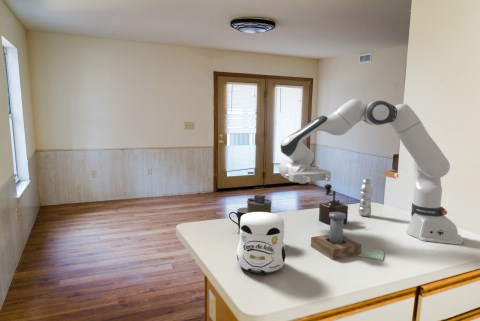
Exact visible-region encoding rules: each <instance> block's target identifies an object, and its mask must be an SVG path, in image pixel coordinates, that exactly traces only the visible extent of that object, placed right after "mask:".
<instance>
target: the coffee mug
mask: <svg viewBox="0 0 480 321" xmlns="http://www.w3.org/2000/svg"><path fill="white" fill-rule="evenodd" d="M232 214H235V215H236V217H237V221H235V220H234V219H232V217H231V215H232ZM244 214H247V207H238V208H237V209H236V211H231V212H230V213H228V218H229V219H230V221H232V222H233V223H234V224H236V225H237V227H238V232H239V233H240V220H241V216H242V215H244Z"/></svg>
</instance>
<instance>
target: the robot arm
mask: <svg viewBox="0 0 480 321" xmlns="http://www.w3.org/2000/svg"><path fill="white" fill-rule="evenodd" d="M361 121H363V122H365V123H367V124H369V125H371V126H382V125H386V124H389V125H390V126H391V127H393V129H394V132H395V133H396V135H397V136H398V138H399V140H400V141H401V143H402V145H403V146H404V148H405V149H406V150H407V152H408V153H409V155H410V157H412V159H413V164H414V165H413V167H414V168H413V175H414V176H413V177H414V178H413V179H414V180H413V181H414V188H413V189H414V190H413V191H414V192H413V200H412V204H411V209H410V221H409V225H408V227H407V229H406V233H407V234H408V235H410V236H411V237H415V238H417V239H419V240H421V241H423V242H432V243H440V244H448V245H449V244H450V245H451V244H452V245H462V244H464V238H463V237H462V235H460V234H459V232H458V227H457V225H456V224H455V223H454V222H453V221H452V220H451V219H449V218H448V217H447V216H446V215H447V214H448V211H447V210H446V209H445V208H444V206H441V204H442V203H441V202H442V196H443V194H442V192H443V188H442V180H441V178H442V177H445V176H446V175H447V174H448V173H449V172H450V168H451V165H450V164H451V163H450V161H449V160H448V158H447V157H446V156H445V154H444V153H443V151H442V150H441V148H440V147H439V146H438V145H437V143H436V142H435V140H434V139H433V138H432V137H431V135H430V134H429V132H428V130H427V129H426V127H425V126H424V124H423V122H422V121H421V120H420V118H419V116H418V115H417V113H416V112H415V111H414V110H413V109H412V107H411V106H410V105H408V104H406V103H399V104H396V105H393V104H391V103H389V102H387V101H385V100H374V101H373V102H370V103H366V104H365V103H363V101H361V100H360V99H358V98H351V99H350V100H348V101H346V102H345V103H344V104H341V106H340V107H338V108H337V109H336V110H335V111H333V112H332V113H330V114H328V115H320V116H318V117H316V118H315V119H313V120H312V121H310V122H309V123H307V124H306V125H304V126H303V127H301V128H299V129H298V130H296V131H295V132H294V133H292V134H290V135H287V136H286V137H285V138H283V139H282V141H281V142H280V152H281V153H282V154H283V155H285V156H286V157H287V158H289V159H288V160H284V161H282V162H280V164H279V166H278V171H279V173H280V175H281V176H282V177H284V178H285V179H287V180H288V181H290V182H291V183H298V184H300V185H302V184H303V185H304V184H307V183H311V182H319V181H321V182H323V181H327V182H328V181H329V182H330V181H331V179H332V172H331V171H329V170H327V169H323V168H320V167H319V166H317V165H313V164H314V161H315V153H314V152H313V151H312V150H311V149H310V148H308V147H307V145H305V144H304V143H303V141H304V140H306V139H307V138H308V137H310V136H312V135H313V134H314V133H316V132H325V133H327V134H329V135H332V136H342V135H345V134H347V133H348V132H349V131H350V130H351V129H352V128H354V127H355V126H356V125H358V123H360V122H361Z"/></svg>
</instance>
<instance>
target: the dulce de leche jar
mask: <svg viewBox="0 0 480 321" xmlns="http://www.w3.org/2000/svg"><path fill="white" fill-rule="evenodd" d="M284 229H285V219H284V218H283V216H281V215H279V214H276V213H272V212H271V213H268V212H252V213H247V214H244V215H242V216H241V220H240V232H239V241H238V246H237V250H236V259H237V263H238V265H239V266H240V268H242V269H243V270H244V271H247V272H251V273H253V274H271V273H276V272H278V271H279V270H280V269H282V268H283V267H284V264H285V261H286V249H285V244H284V237H285V236H284V235H285V230H284Z"/></svg>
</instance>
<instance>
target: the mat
mask: <svg viewBox="0 0 480 321" xmlns="http://www.w3.org/2000/svg"><path fill="white" fill-rule="evenodd" d="M384 256H385V251H383V250H378V249H373V248H368V247H362V248H361V254H358V255H357V257H361V258H367V259H369V260H370V259H371V260H374V261H375V260H376V261H382V262H383V261H384Z"/></svg>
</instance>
